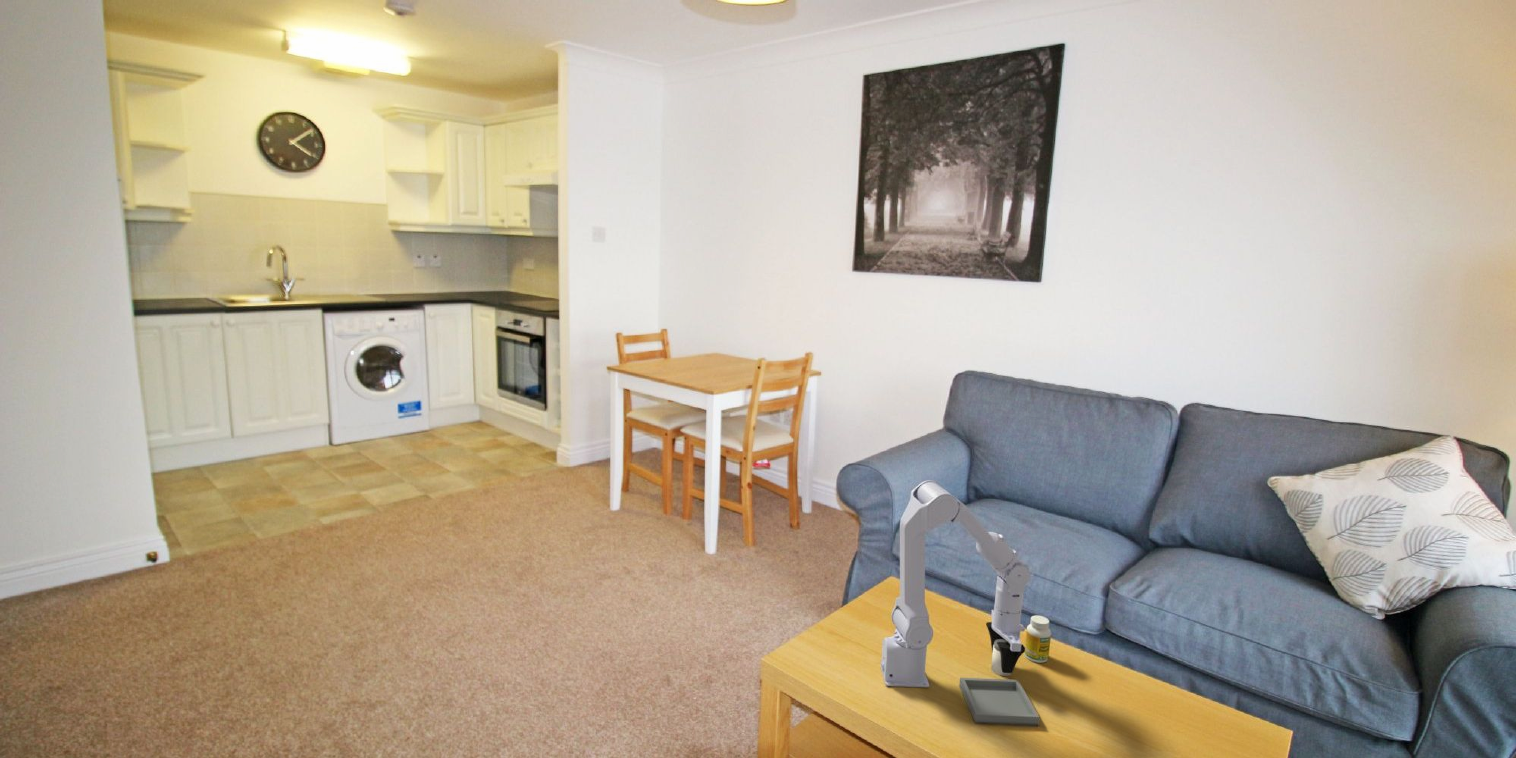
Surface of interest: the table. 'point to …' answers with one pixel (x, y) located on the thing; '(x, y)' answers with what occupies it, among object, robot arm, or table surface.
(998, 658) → the cylinder
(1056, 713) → the table surface
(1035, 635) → the supplement bottle
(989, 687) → the tray
